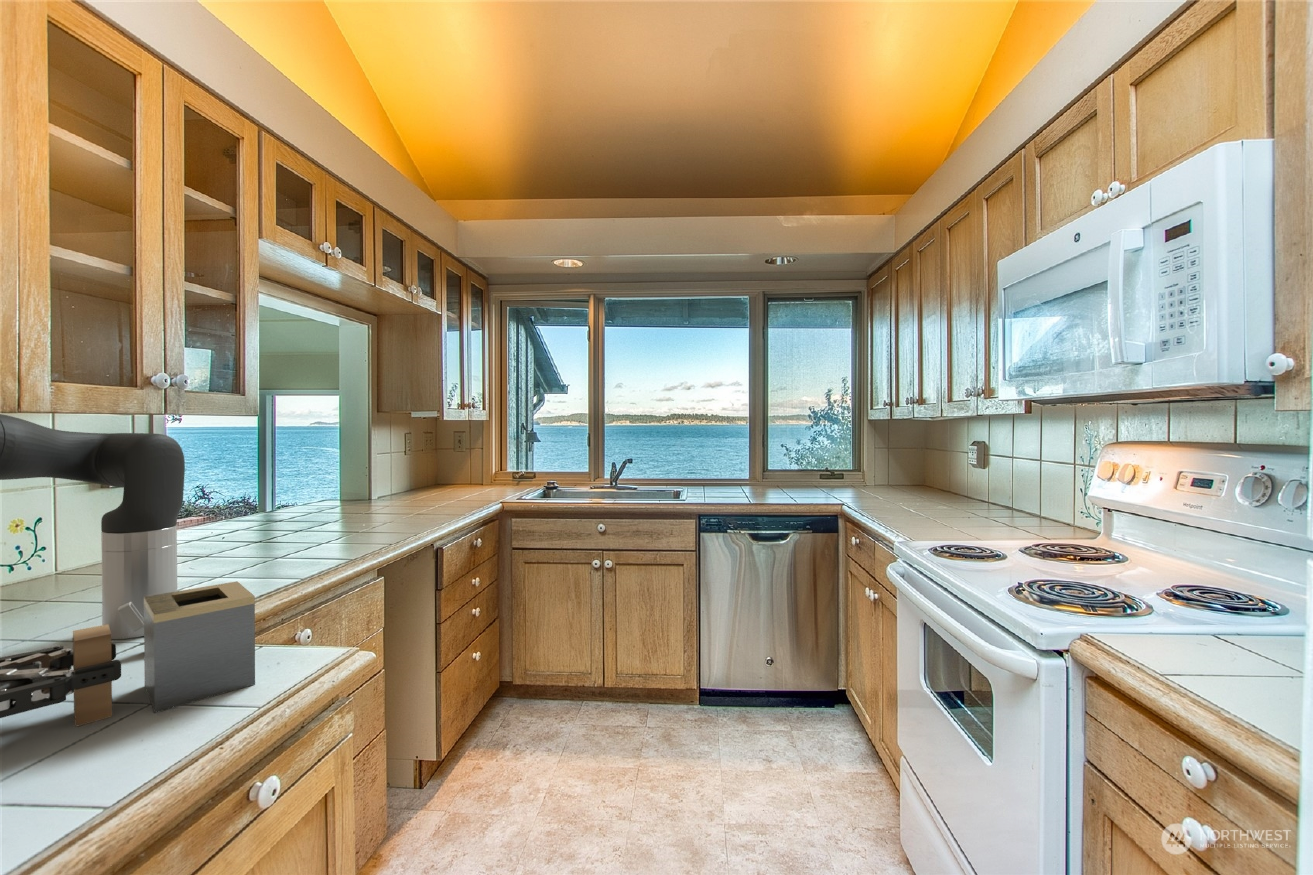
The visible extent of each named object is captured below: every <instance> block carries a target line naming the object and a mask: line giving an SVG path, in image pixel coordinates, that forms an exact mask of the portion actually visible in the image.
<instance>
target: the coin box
mask: <svg viewBox="0 0 1313 875" xmlns="http://www.w3.org/2000/svg"><path fill="white" fill-rule="evenodd" d="M255 598H256V596H255V595H254V594H253V593H252V592H251V591H249V589H247V588H246V587H245V586H244V585H242V584H241V583H240V582H239V581H230V582H225V583H219V584H211V585H207V586H201V587H200V586H199V587H196V588H189V589H184V590H183V589H182V590H177V591H176V592H170V593H164V594H158V595H152V596H146V597H144V636H143V638H144V639H143V640H144V641H143V642H144V643H143V644H144V645H143V648H144V653H143V654H144V655H143V656H144V663H143V664H144V688H145V691H146V694H147V696H148V699H149V702H150V704H151V707H152V709H153V712H154V713H155V714H157V713H159V712H163V711H167V710H171V709H173V708H177V707H180V706H184V705H187V704H190V703H192V704H193V703H194V702H197V701H201V700H205V699H209V698H212V697H216V696H219V695H222V694H225V693H230V692H234V691H236V690H240V689H244V688H246V687H250V686H253V685H256V613H255V612H256V603H255V602H256V601H255V600H256V599H255Z"/></svg>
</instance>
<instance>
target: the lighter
mask: <svg viewBox="0 0 1313 875" xmlns="http://www.w3.org/2000/svg"><path fill="white" fill-rule="evenodd" d="M118 611H119V612H120V614H121V615H122V616H123V618H124V619H125V620H126V622H127V623H128V624H129V625H130V627H131V628H132V629H133V631H134V632H135V631H137V630H139V629H141V628H143V627H144V618H143V617H142V616H141V614H140V613H139V612H138V610H137V609H136V608H135V606H134V605H133V604H132V602H129V603H127V604H124V605H122V606H120V607H119V608H118Z"/></svg>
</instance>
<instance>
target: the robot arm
mask: <svg viewBox="0 0 1313 875" xmlns="http://www.w3.org/2000/svg"><path fill="white" fill-rule="evenodd" d="M185 467H186V462H185V454H184V452H183V449H182V446H181V445H180V443H179V442H178V441H177V440H176V439H174V438H173V437H171V436H170V435H166V434H163V433H151V432H150V433H148V432H146V433H143V432H142V433H141V432H140V433H139V432H136V433H135V432H117V433H116V432H115V433H109V432H107V433H105V432H104V433H103V432H102V433H101V432H99V433H98V432H97V433H96V432H81V431H78V432H77V431H66V430H61V429H60V430H59V429H53V428H50V427H47V426H43V425H40V424H37V423H36V422H32V421H29V420H26V419H23V418H19V417H15V416H11V415H8V414H7V415H6V414H1V413H0V481H3V480H4V481H5V480H22V479H23V480H24V479H36V478H37V479H38V478H53V479H63V480H69V481H77V482H85V483H91V484H97V485H102V486H103V485H104V486H108V487H115V488H123V495H122V501H121V503H120V504H119V505H118V507H116V508H115V509H111V510H110V511H108V512H105V513H104V514H103V515H102V517H101V522H100V525H101V526H100V528H101V588H102V589H101V602H102V603H101V605H102V606H101V610H102V611H101V614H102V615H101V617H102V618H101V619H102V624H101V626H102V625H107V624H108V625H109V628H110V631H111V640H122V639H123V640H125V639H133V638H138V637H144V627H143V628H141V629H139V630H137V631H135V632H134V631H133V629H132V628H131V627H130V625H129V624H128V623H127V622H126V620H125V619H124V618H123V616H122V615H121V614H120V612H119V611H118V608H119V607H120V606H122V605H124V604H127V603H129V602H132V604H133V605H134V606H135V608H136V609H137V610H138V612H139V613H140V614H141V616H142V617H143V618H144V597H146V596H152V595H158V594H164V593H170V592H176V591H178V539H177V538H178V530H177V528H178V516H179V513H180V511H181V509H182V508H183V507H182V506H183V502H184V490H185V489H184V488H185V473H186V472H185V470H186V468H185ZM116 658H117V646H116V643H115V642H112V641H111V661H108V662H104V663H100V664H95V665H91V666H86V667H82V668H77V669H75V673H74V670H73V650H72V648H65V646H63V645H56V646H53V647H48V648H43V649H38V650H31V651H26V652H22V653H17V654H13V655H12V654H10V655H7V656H6V655H5V656H0V719H3V718H6V717H7V718H8V717H10V716H13V715H17V714H21V713H26V712H29V711H32V710H38V709H40V708H44V707H48V706H52V705H56V704H57V705H58V704H60V703H63V702H65V701H66V700H67V696H70V695H71V694H74V689H75V690H78V689H82V688H86V687H90V686H94V685H98V684H102V683H107V682H111V681H112V682H115V681H118V680H119V679H120V678H121V677H122V663H121V661H120V660H119V659H116Z"/></svg>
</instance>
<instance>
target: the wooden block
mask: <svg viewBox="0 0 1313 875" xmlns="http://www.w3.org/2000/svg"><path fill="white" fill-rule="evenodd" d="M111 642H112V639H111V631H110V628H109V625H108V624H107V625H102V624H101V625H98V626H97V625H96V626H93V627H86V628H82V629H76V630H72V647H73V648H72V649H73V650H72V651H73V666H72V670H74V673H75V669H77V668H82V667H86V666H91V665H95V664H100V663H104V662H108V661H111ZM112 682H113V681H111V682H107V683H102V684H98V685H94V686H90V687H86V688H82V689H78V690H75V689H74V693H73V716H74V726H75V728H76V727H80V726H82V725H87V724H90V723H93V722H96V721H101V720H104V719H107V718H111V717H113V691H112V690H113V687H112V686H113V683H112Z"/></svg>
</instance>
